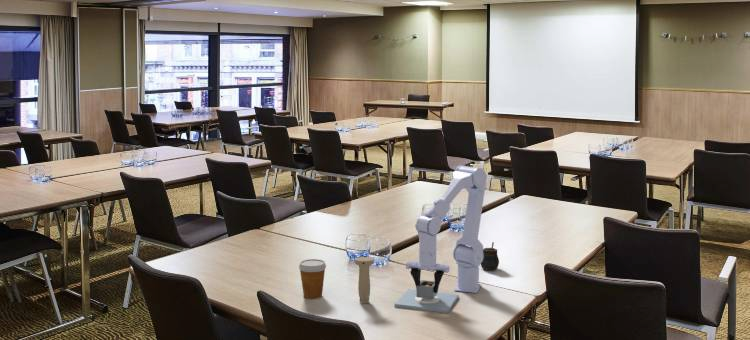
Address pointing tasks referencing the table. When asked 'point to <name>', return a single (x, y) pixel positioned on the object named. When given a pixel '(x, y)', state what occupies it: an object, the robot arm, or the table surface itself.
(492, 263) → the mate gourd
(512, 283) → the table surface
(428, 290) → the hollow square tube
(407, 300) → the board
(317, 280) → the disposable coffee cup
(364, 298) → the handle
